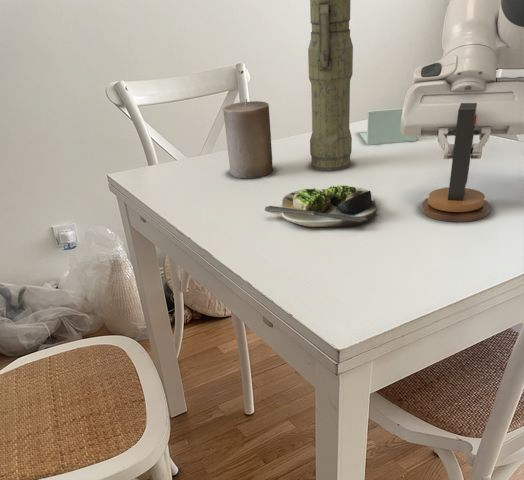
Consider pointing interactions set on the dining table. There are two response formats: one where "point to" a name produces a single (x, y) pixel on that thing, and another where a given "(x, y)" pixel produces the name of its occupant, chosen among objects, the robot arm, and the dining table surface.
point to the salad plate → (327, 207)
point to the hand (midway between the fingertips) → (462, 157)
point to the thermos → (330, 84)
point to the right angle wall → (385, 127)
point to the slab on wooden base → (460, 168)
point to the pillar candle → (248, 139)
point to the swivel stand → (455, 213)
